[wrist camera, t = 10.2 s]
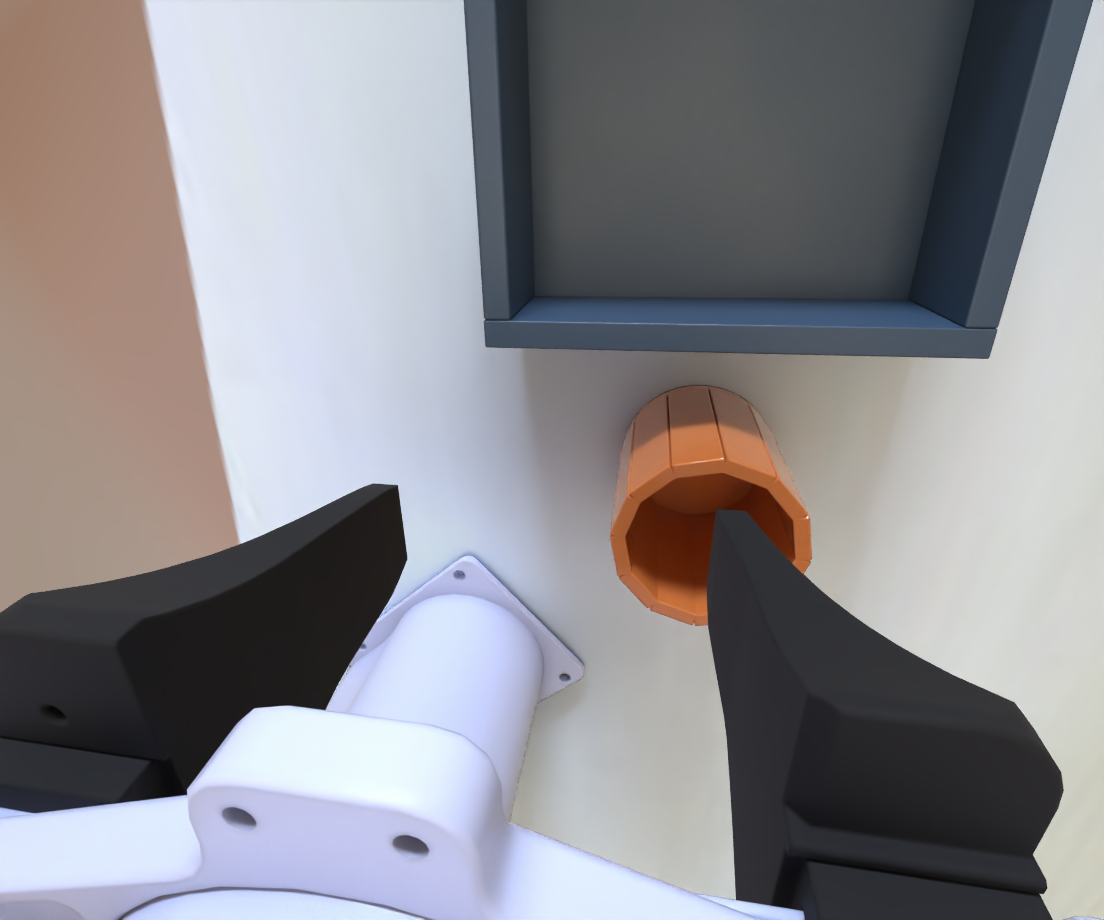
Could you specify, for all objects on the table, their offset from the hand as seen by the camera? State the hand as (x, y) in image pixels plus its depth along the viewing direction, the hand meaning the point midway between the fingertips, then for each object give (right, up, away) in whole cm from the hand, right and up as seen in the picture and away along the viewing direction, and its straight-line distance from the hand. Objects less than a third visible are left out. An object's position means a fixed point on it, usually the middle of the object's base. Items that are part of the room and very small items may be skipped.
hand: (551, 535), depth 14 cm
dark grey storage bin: (+5, +13, +4) cm, 15 cm away
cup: (+5, +2, +9) cm, 11 cm away
